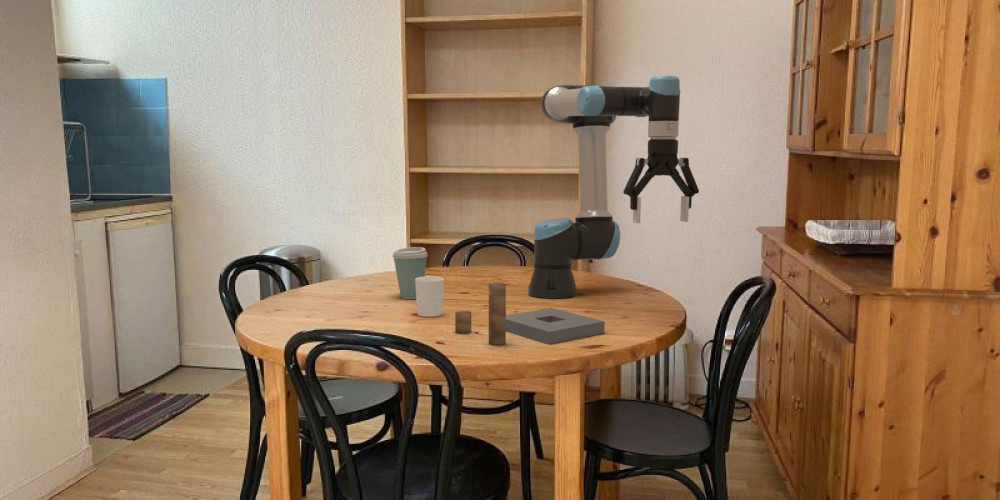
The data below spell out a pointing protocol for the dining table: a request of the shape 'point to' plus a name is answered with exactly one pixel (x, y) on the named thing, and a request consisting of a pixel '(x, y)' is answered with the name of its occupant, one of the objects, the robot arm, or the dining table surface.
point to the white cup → (429, 296)
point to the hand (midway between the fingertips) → (660, 222)
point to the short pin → (463, 322)
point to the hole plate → (553, 325)
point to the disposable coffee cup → (409, 269)
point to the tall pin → (497, 314)
